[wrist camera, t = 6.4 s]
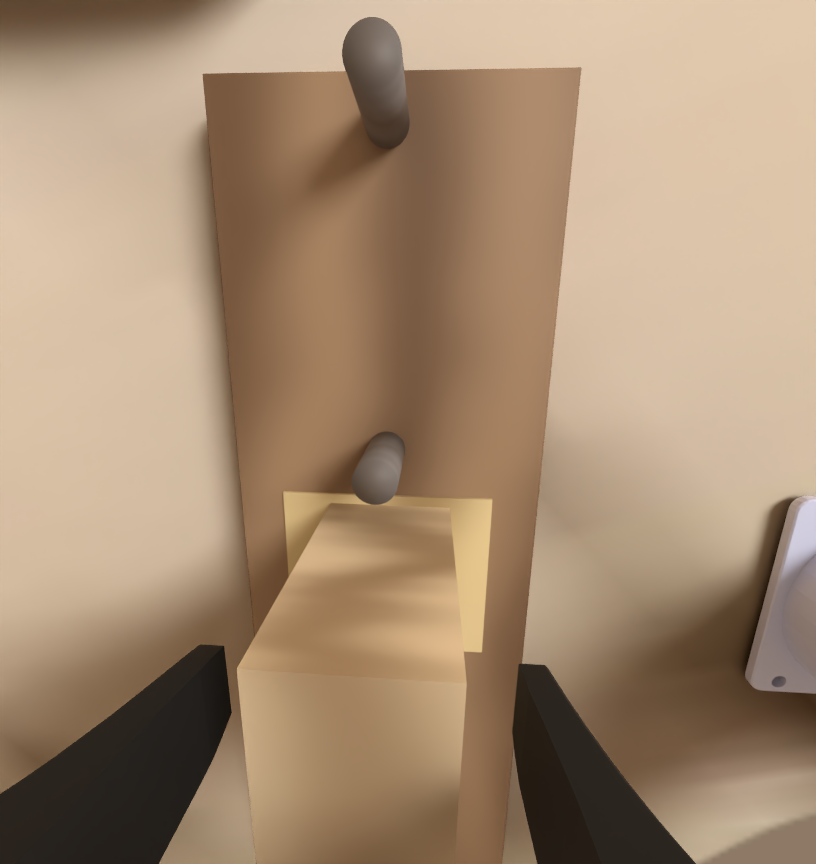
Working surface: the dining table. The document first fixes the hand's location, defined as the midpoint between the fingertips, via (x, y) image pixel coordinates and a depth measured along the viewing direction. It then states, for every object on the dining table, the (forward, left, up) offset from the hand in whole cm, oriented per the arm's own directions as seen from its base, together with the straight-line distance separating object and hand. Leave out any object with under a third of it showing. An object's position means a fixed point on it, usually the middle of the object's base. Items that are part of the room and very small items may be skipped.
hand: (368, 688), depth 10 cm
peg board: (0, 0, -6) cm, 6 cm away
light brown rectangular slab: (0, 0, -5) cm, 5 cm away
